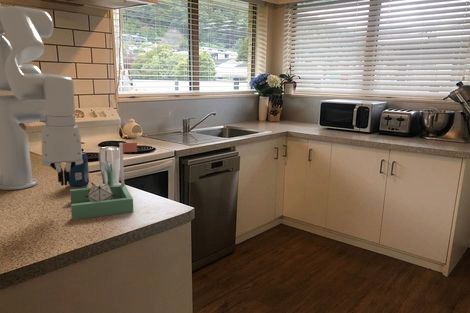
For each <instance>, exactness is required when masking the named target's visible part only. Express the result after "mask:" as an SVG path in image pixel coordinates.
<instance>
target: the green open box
mask: <svg viewBox="0 0 470 313" xmlns="http://www.w3.org/2000/svg"><path fill="white" fill-rule="evenodd" d="M118 144H119V150H120V184H119V185H114V186H110V188H111V190H112V192H113V194H115V195H116V196H115V197H113V199H112V200H104V201H94V202H90V201H89V199H88V198H87V197H85V195H88V193H89V191H90V189H91V187H82V188H72V189H69V191H70V192H69V193H70V194H69V195H70V209H71V210H70V211H71V220H79V219H87V218H94V217H95V218H96V217H104V216H105V217H106V216H111V215H120V214H127V213H134V199H133V196H132V195H131V192H130V191H129V189H128V188H127V185H126V184H125V175H124V174H125V173H124V172H125V170H124V168H125V167H124V153H130V152H131V153H132V152H135V153H137V152H138V142H133V141H132V142H119V143H118ZM115 198H116V199H115ZM78 202H79V203H78Z"/></svg>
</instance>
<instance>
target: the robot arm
mask: <svg viewBox="0 0 470 313" xmlns="http://www.w3.org/2000/svg"><path fill="white" fill-rule="evenodd" d="M54 27H55V26H54V22H53V18H52V17H51V16H50V14H49V13H48V12H47V11H45V10H43V9H39V8H38V9H36V8H31V7H23V6H17V5H9V6H4V5H3V6H2V5H0V92H9V93H10V92H11V93H12V95H1V96H0V190H1V191H2V190H4V191H5V190H6V191H12V190H22V189H28V188H31V187H34V186H36V185H37V184H38V179H37V178H34V177H33V173H32V164H31V154H30V153H31V152H30V144H29V135H28V133H27V132H26V131H25V129H24V128H22V127H21V125H20V124H26V123H37V122H39V123H43V124H45V125H44V126H42V130H41V156H42V160H41V165H42V166H44V167H51V168H52V169H53V170H54V171H56V173H57V182H58V183H60V186H61V187H62V186H63V187H64V185H65V186H68V182H69V181H70V178H69V171H70V170H71V169H72V168H73V167H74V166H75V165H79V164H82V163H83V159H82V152H83V150H82V149H83V148H82V138H81V137H82V136H81V132H80V128H79V126H78V125H76V112H75V111H76V109H75V107H76V106H75V86H74V81H73V78H71V77H69V76H63V75H60V74H53V73H52V74H51V73H42V71H41V69H40V68H39V67H38V66H36V65H35V64H31V63H30V62H34V61H35V60H37V59H39V58H40V57H41V56H43V54H44V53H45V47H46V46H45V45H44V42H43V40H42V39H49V38H50V37H52V35H53V33H54ZM4 35H6V37H5V36H4ZM28 63H30V64H28ZM61 163H65V167H64V170H63V167H62V165H61Z"/></svg>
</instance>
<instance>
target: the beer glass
mask: <svg viewBox="0 0 470 313" xmlns="http://www.w3.org/2000/svg"><path fill="white" fill-rule="evenodd" d="M98 164H99V169H100V173H101V177H102V184H108V182H110V184H109V186H114V185H120V174H121V171H120V148H119V147H118V146H104V147H103V146H102V147H99V148H98Z"/></svg>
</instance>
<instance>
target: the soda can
mask: <svg viewBox="0 0 470 313" xmlns="http://www.w3.org/2000/svg"><path fill="white" fill-rule="evenodd" d="M82 159H83V163H82V164H79V165H75V166H74V167H73V168H72V169H71V170H70V171H69V178H70V181H69V182H67V185H68V186H69V187H70V188H72V189H82V188H87V186H88V185H89V182H90V176H89V175H90V174H89V161H88V159H89V158H88V156H87V153H86V152H85V151H82Z"/></svg>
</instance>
